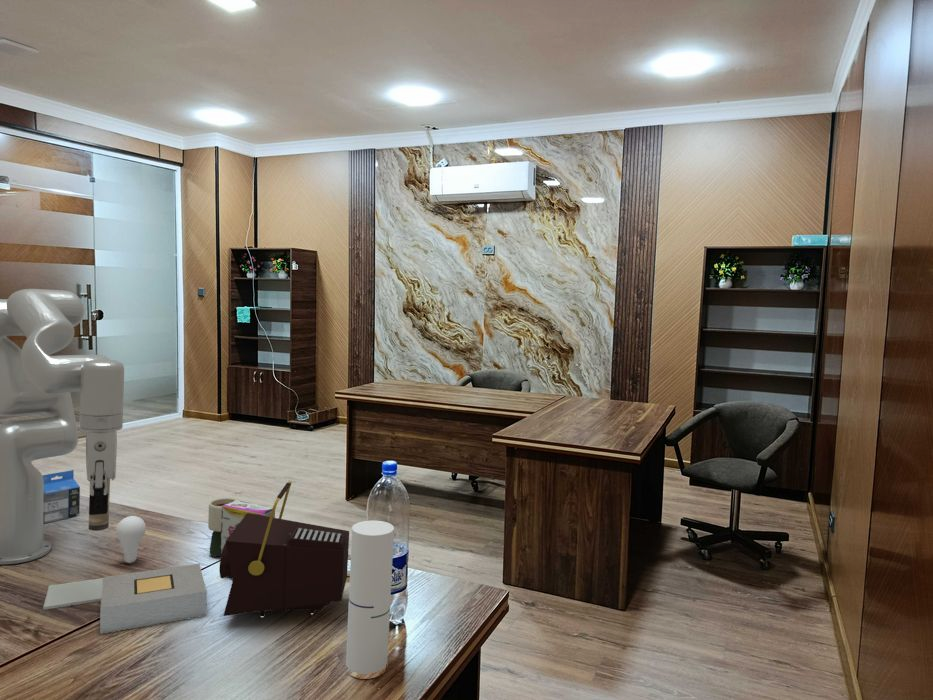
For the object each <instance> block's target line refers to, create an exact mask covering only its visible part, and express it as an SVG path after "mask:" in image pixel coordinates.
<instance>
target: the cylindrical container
mask: <svg viewBox="0 0 933 700" xmlns="http://www.w3.org/2000/svg"><path fill="white" fill-rule="evenodd" d="M394 532H395V526H394V525H393V524H392V523H390V522H386V521H382V520H363V521H359V522H356V523H355V524H353V525H352V526H351V544H350V545H351V546H350V547H351V548H350V563H349V564H350V565H349V566H350V567H349V586H348V587H349V589H348V609H347V610H348V611H347V613H348V615H347V629H346V630H347V631H346V633H347V634H346V655H345V657H346V658H345V667H346V666H347V667H348V669H349V670H351V671H353V672H356V673H359V674H370V673H375V672H378V671H380V670H382V669H383V668H384V667H385V666H386V664H387V665H388V657H389V655H388V654H389V637H390V636H389V635H390V633H389V632H390V619H391V618H390V617H391V616H390V614H391V596H392V594H391V593H392V579H393V578H392V574H393V559H394V558H393V555H394V554H393V553H394V539H395V538H394V535H395V533H394Z"/></svg>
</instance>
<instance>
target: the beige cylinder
mask: <svg viewBox="0 0 933 700" xmlns="http://www.w3.org/2000/svg"><path fill="white" fill-rule="evenodd" d="M103 468H104V467H103ZM95 469H96V468H95ZM95 478H96V477H94V479H95ZM103 479H105V476H103ZM103 484H104V483H103ZM94 485H95V483H94ZM110 486H111V479H108V477H107V493H108V512H107V513H106V514H97V515H90V514H89V513H88V530H90V531H93V532H95V531H103V530H106V529H108V528H109V525H110V523H109V522H110V521H109V520H110V496H111V495H110V493H111V491H110V489H111V487H110ZM89 495H91V482H90V481H89Z"/></svg>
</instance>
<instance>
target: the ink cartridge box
mask: <svg viewBox="0 0 933 700" xmlns="http://www.w3.org/2000/svg"><path fill="white" fill-rule="evenodd" d="M42 476H43V480H44V500H43V525H44V524H49V523H52V522H58V521H62V520H65V519H70V518H76V517H78V516H80V511H81V510H80V505H81V503H80V499H81V494H80V493H81V486H80V485H79V483H78V482H77V481H76V480H75V479H74V477H75V476H74V469H70V470H66V471H59V472H54V473H48V474H42ZM56 477H58V478H57V479H55V478H56ZM60 477H61V478H60Z"/></svg>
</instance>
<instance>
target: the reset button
mask: <svg viewBox="0 0 933 700" xmlns="http://www.w3.org/2000/svg"><path fill="white" fill-rule="evenodd" d="M168 589H172V587H171V580H170V576H165V577H158V578H151V579H144V580H137V594H142V593H149V592H155V591H162V590H168Z"/></svg>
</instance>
